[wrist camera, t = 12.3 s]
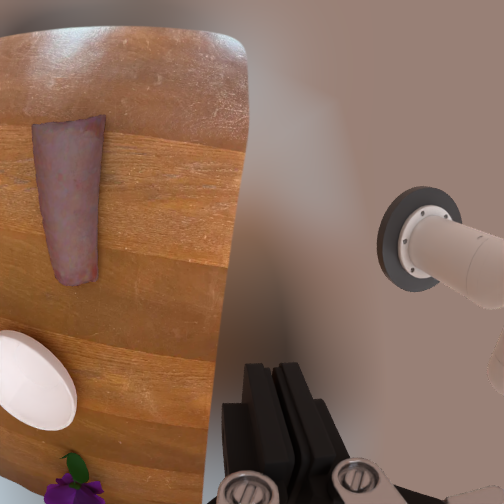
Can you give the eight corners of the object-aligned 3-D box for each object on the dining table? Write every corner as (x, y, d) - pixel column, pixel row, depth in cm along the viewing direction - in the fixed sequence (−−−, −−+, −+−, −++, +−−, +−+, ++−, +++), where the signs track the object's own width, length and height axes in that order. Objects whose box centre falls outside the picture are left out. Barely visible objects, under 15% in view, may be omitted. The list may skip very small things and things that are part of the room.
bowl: (107, 375, 45) (96, 403, 39) (57, 418, 47) (46, 443, 40) (20, 292, 40) (-2, 311, 33) (-16, 351, 41) (-34, 371, 35)
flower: (53, 434, 54) (58, 478, 51) (28, 455, 40) (37, 505, 37) (109, 448, 57) (112, 492, 54) (93, 475, 42) (99, 524, 39)
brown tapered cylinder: (52, 125, 34) (18, 120, 26) (114, 115, 35) (90, 104, 27) (65, 275, 40) (38, 300, 32) (124, 273, 41) (106, 299, 33)
